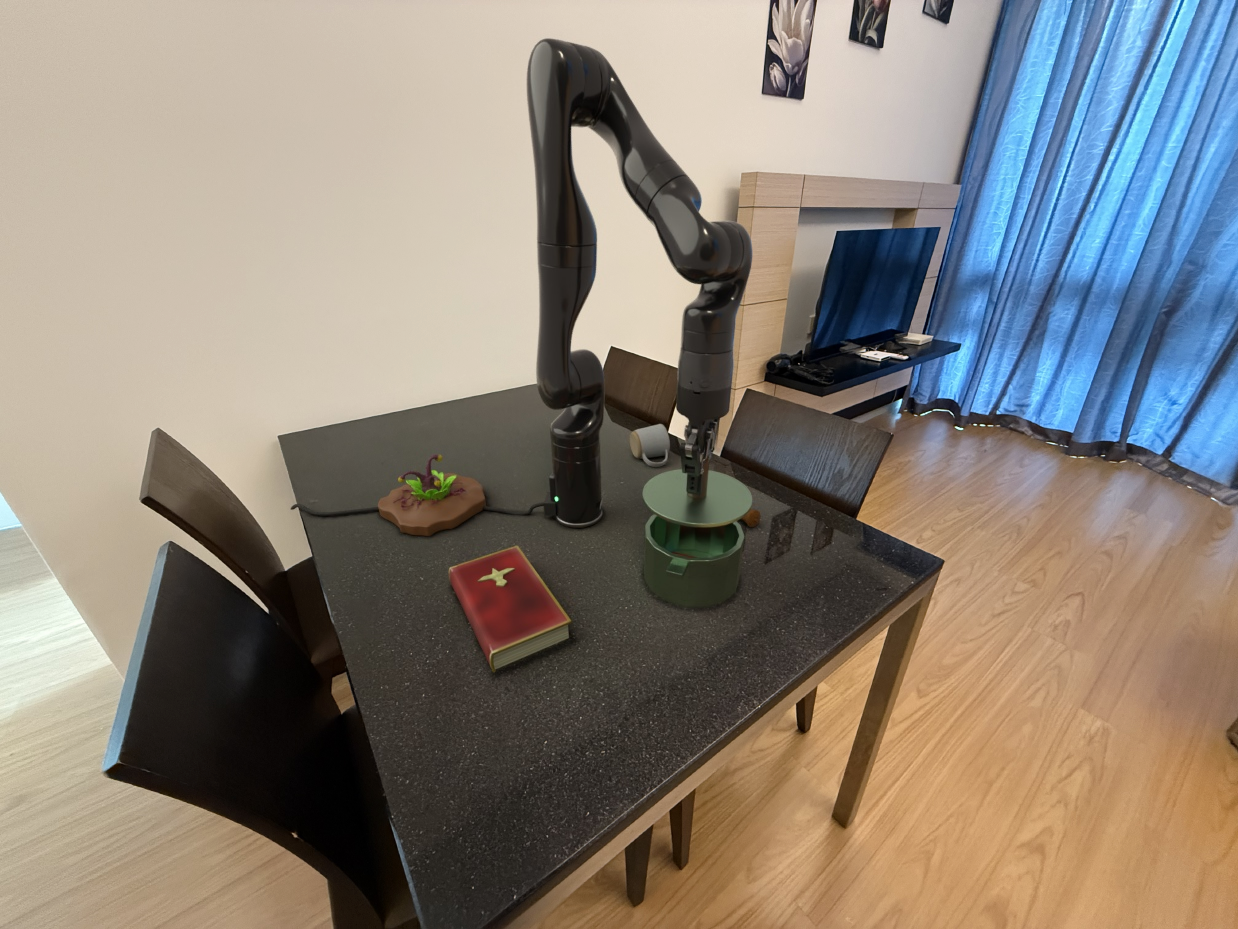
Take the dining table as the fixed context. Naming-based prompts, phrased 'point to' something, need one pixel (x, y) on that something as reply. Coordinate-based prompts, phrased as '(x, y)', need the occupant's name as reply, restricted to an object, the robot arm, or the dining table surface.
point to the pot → (692, 562)
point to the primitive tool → (752, 518)
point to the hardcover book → (508, 606)
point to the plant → (432, 501)
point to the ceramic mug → (650, 444)
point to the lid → (697, 499)
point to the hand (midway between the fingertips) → (696, 487)
